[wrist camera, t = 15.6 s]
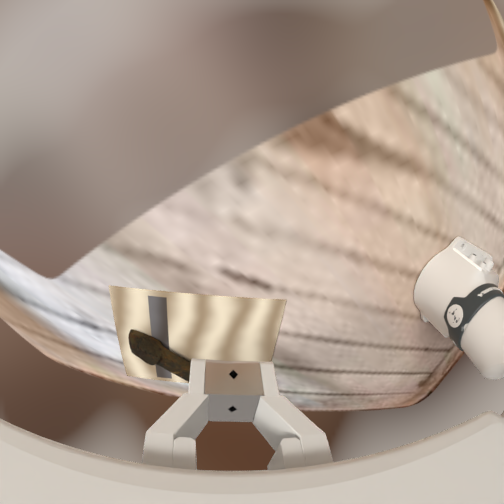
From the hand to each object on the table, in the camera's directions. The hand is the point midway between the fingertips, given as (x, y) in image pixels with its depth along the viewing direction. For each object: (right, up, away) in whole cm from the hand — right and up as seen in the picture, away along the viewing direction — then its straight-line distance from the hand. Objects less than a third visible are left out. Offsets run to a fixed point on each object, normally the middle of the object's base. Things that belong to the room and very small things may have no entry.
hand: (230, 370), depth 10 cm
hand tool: (-13, -14, +39) cm, 43 cm away
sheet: (-9, -12, +38) cm, 40 cm away
